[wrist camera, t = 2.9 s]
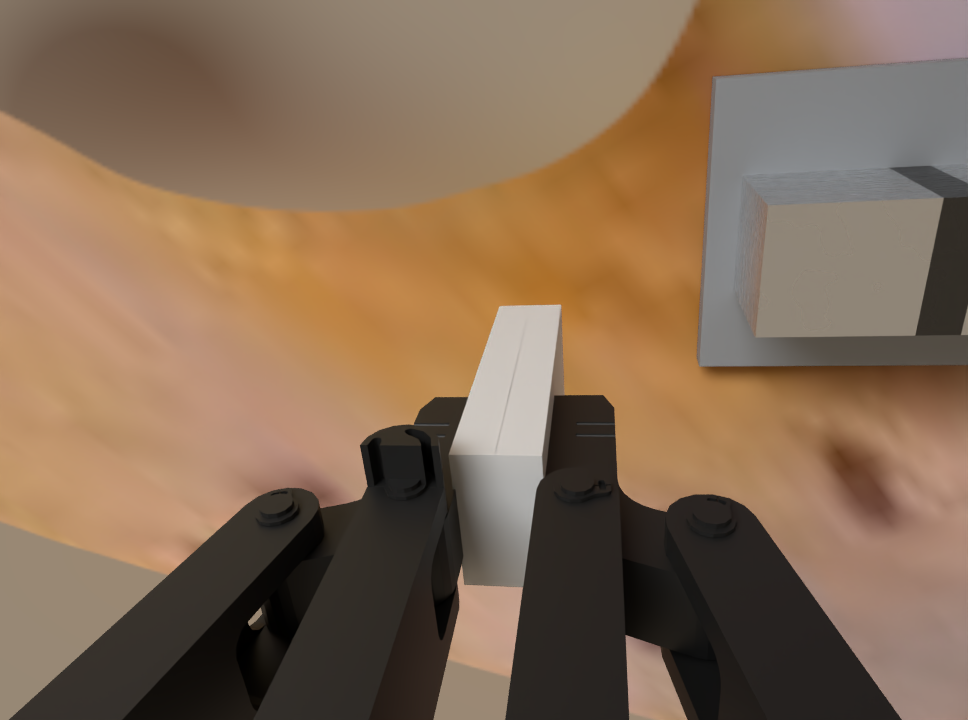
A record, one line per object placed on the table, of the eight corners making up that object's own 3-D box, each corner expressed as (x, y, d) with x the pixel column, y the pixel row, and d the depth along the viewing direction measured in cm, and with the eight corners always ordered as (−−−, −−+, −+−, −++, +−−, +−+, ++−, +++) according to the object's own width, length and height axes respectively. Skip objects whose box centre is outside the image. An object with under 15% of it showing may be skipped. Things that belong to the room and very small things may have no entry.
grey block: (733, 290, 24) (755, 337, 21) (742, 175, 23) (768, 205, 19) (1053, 282, 23) (1136, 332, 19) (1090, 157, 21) (1189, 187, 17)
